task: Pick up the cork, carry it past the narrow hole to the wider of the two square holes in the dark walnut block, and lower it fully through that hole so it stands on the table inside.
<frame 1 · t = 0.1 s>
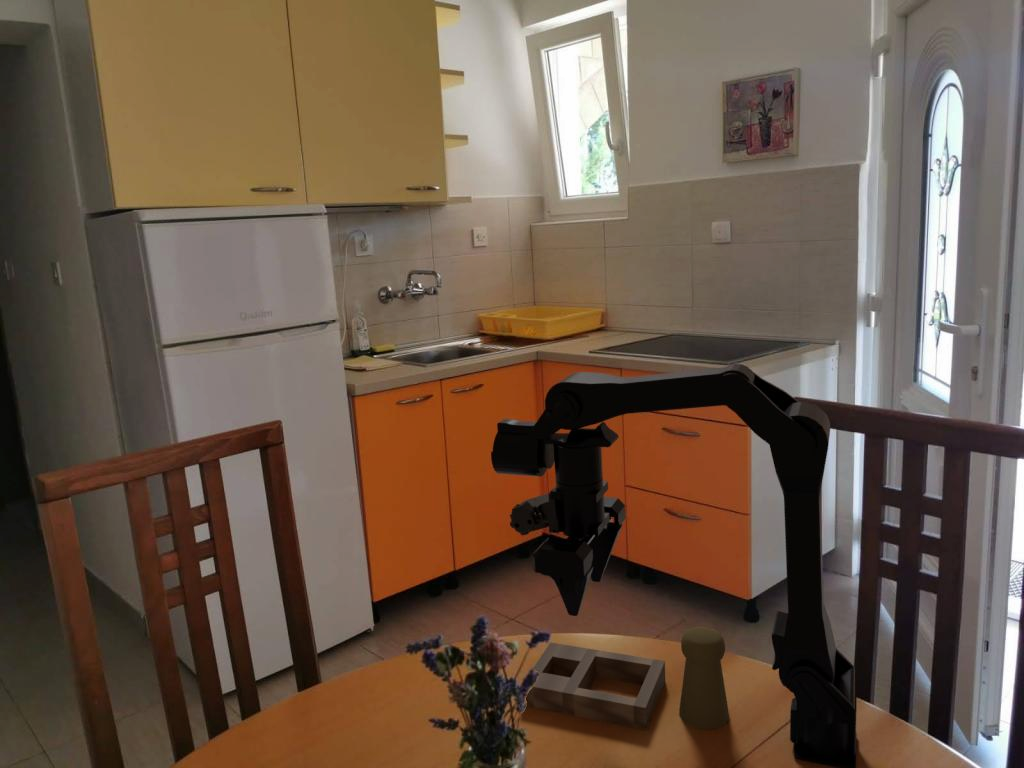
hand: (585, 597, 98), 15 cm above the table, tool pointing down, fingers open, 9 cm apart
hole block: (595, 693, 103), on the table
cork: (704, 715, 97), on the table
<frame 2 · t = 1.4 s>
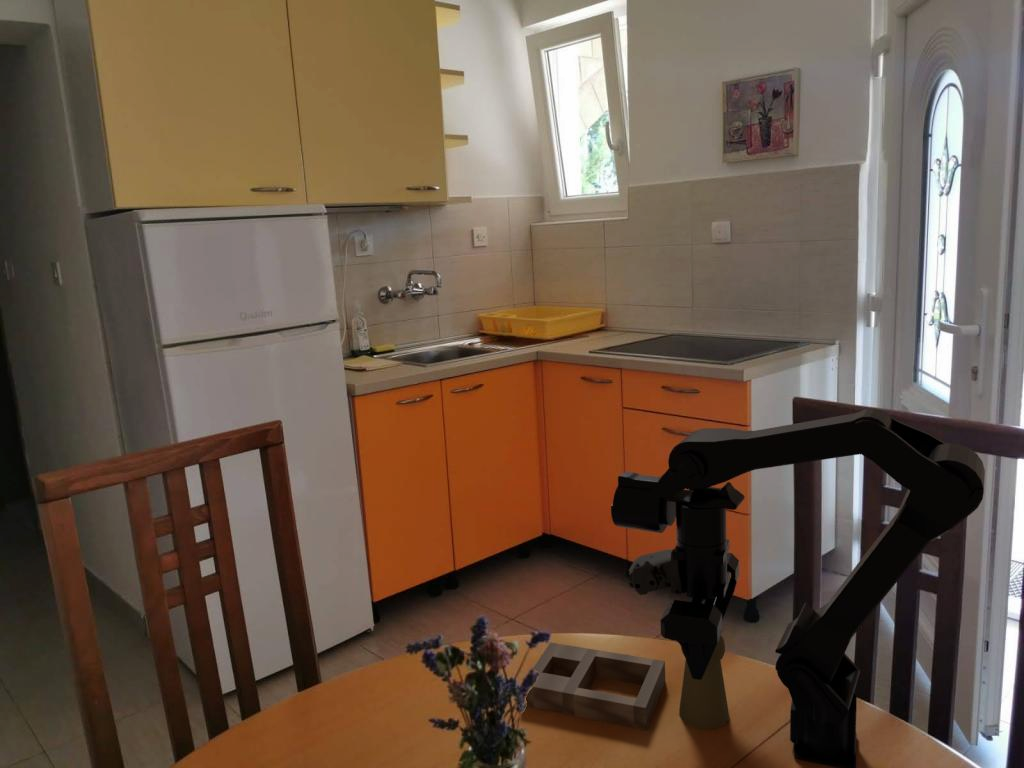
hand: (704, 657, 96), 8 cm above the table, tool pointing down, fingers open, 9 cm apart
nothing on the table moved.
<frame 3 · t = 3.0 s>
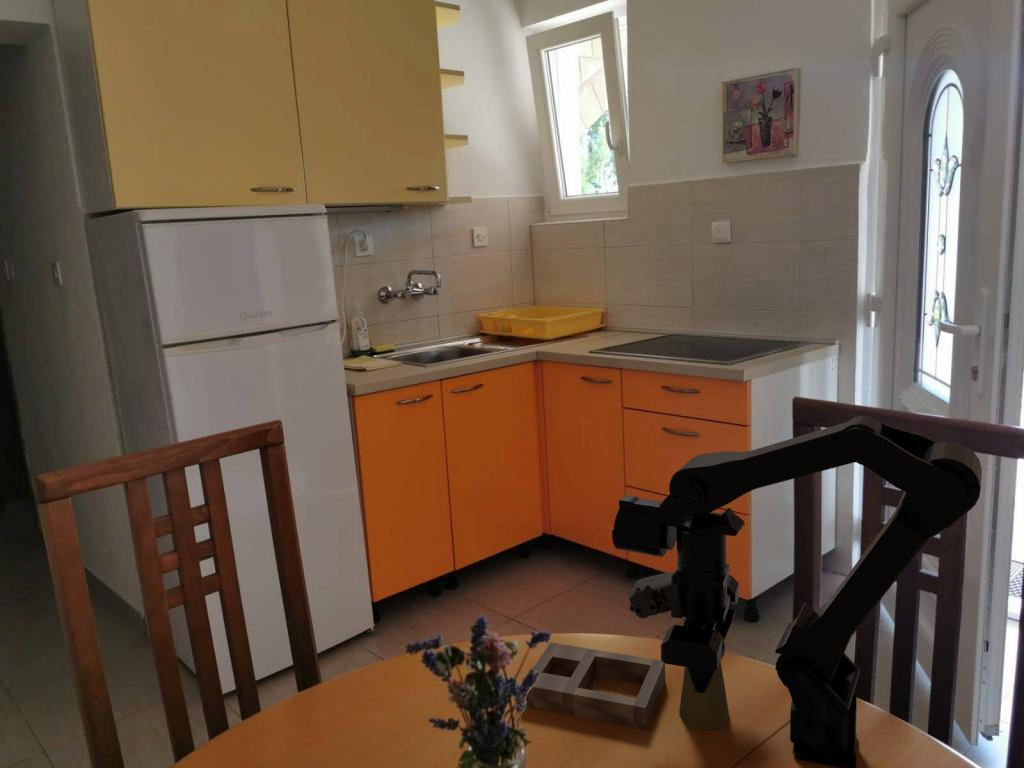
hand: (703, 680, 96), 5 cm above the table, tool pointing down, fingers closed on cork, 4 cm apart
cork: (704, 715, 97), on the table, touching gripper
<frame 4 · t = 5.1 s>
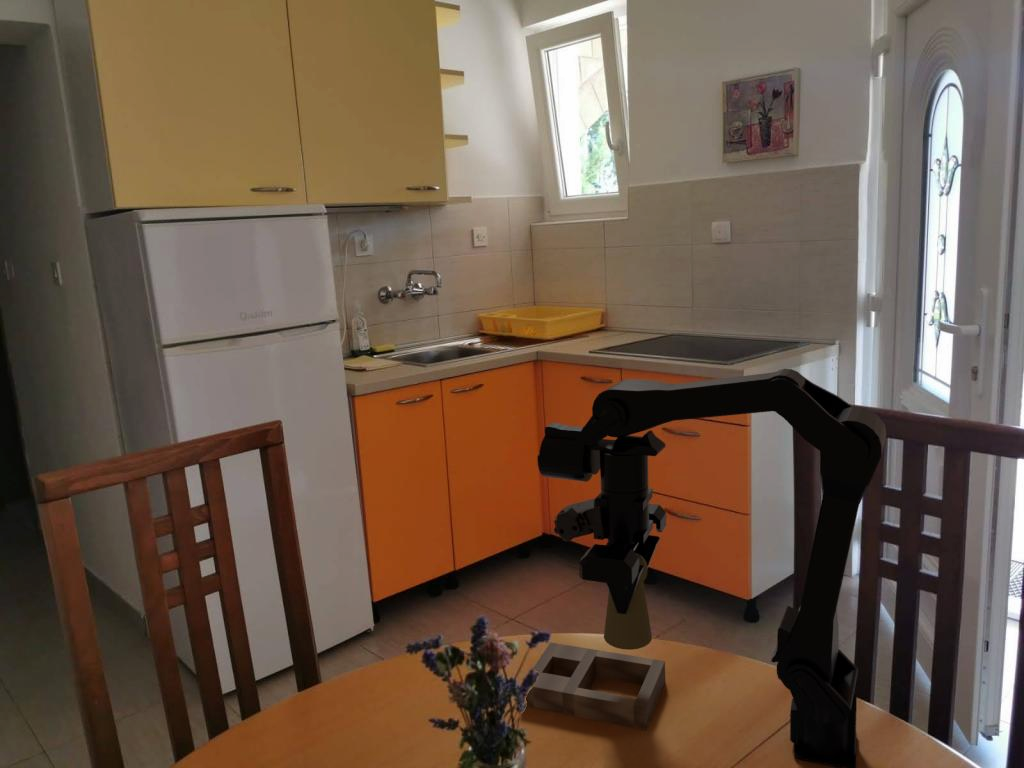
hand: (627, 603, 98), 13 cm above the table, tool pointing down, fingers closed on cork, 4 cm apart
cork: (627, 638, 99), point 9 cm above the table, touching gripper
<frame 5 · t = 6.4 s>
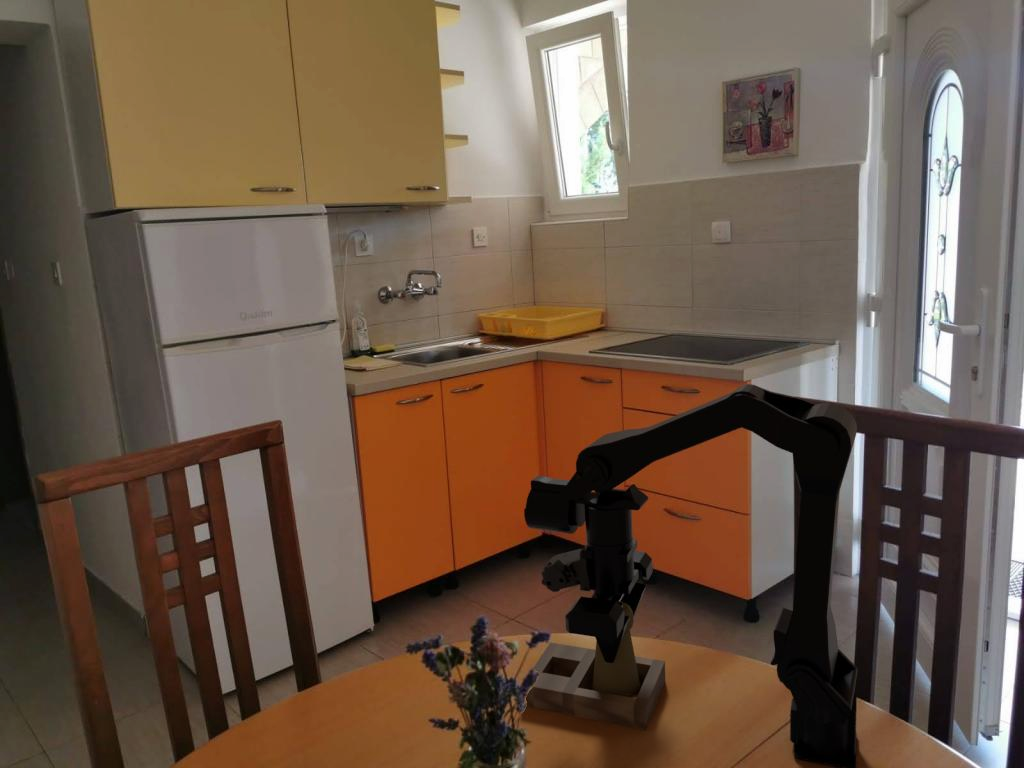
hand: (614, 651, 100), 6 cm above the table, tool pointing down, fingers closed on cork, 4 cm apart
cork: (616, 685, 101), point 2 cm above the table, touching gripper
when the fingers open (6 cm above the table, at t = 7.2 s): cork drops 1 cm, resting in hole block.
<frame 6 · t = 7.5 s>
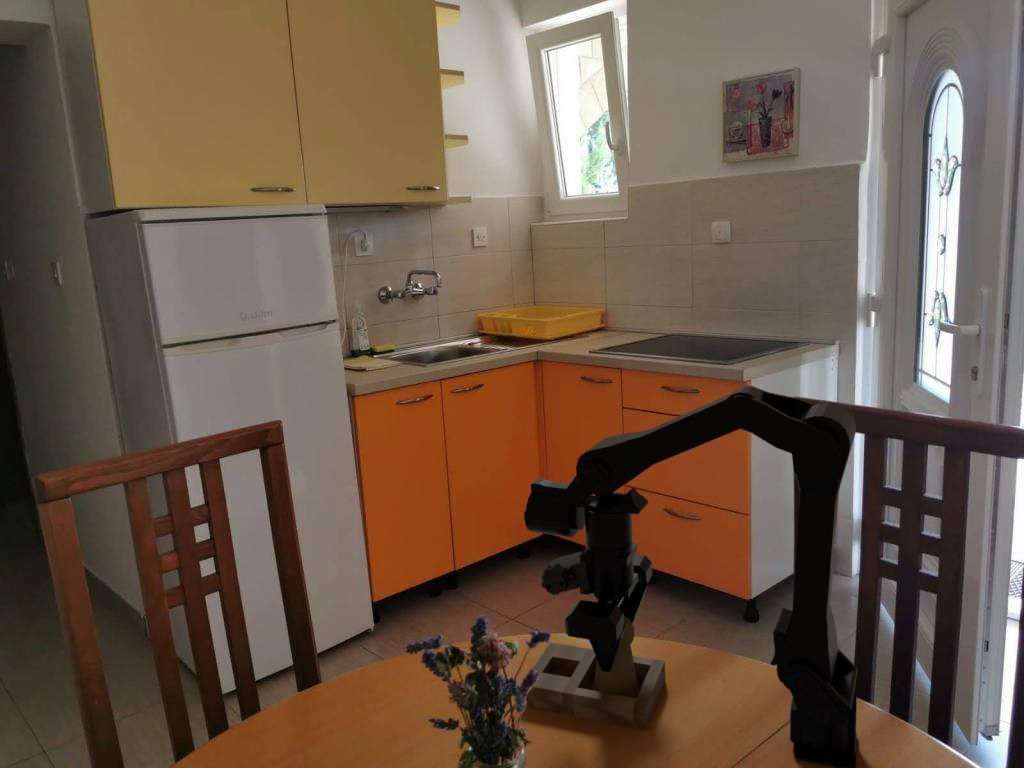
hand: (614, 655, 101), 6 cm above the table, tool pointing down, fingers open, 7 cm apart
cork: (616, 698, 102), resting in hole block
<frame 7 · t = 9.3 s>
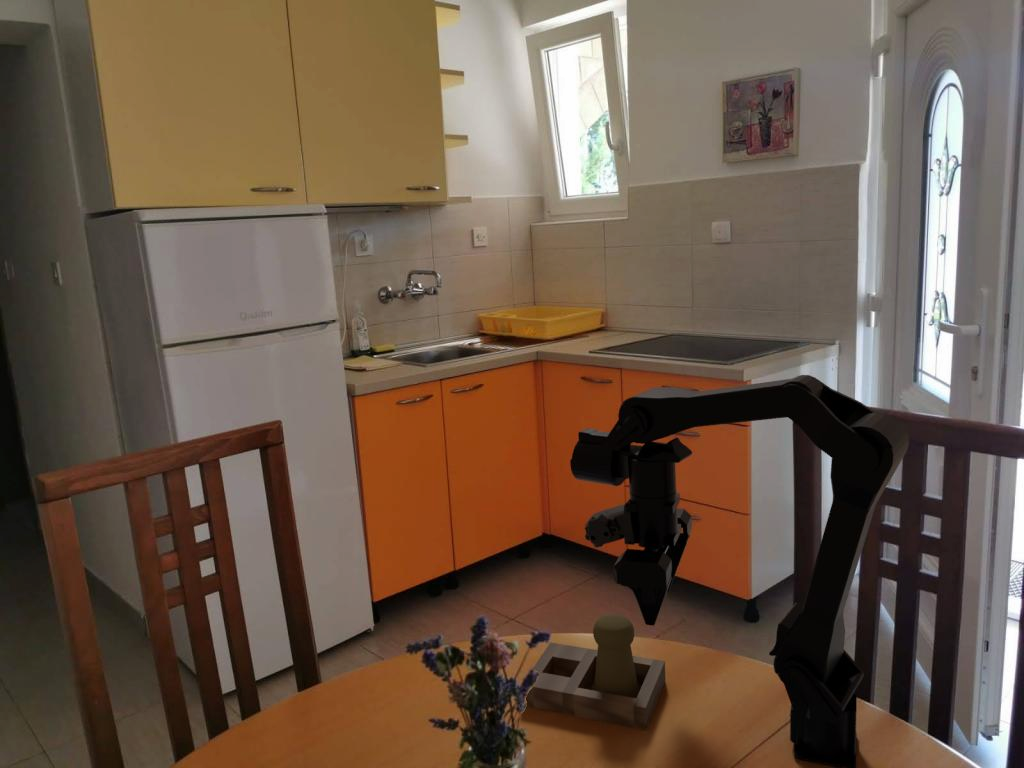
hand: (657, 607, 100), 12 cm above the table, tool pointing down, fingers open, 9 cm apart
nothing on the table moved.
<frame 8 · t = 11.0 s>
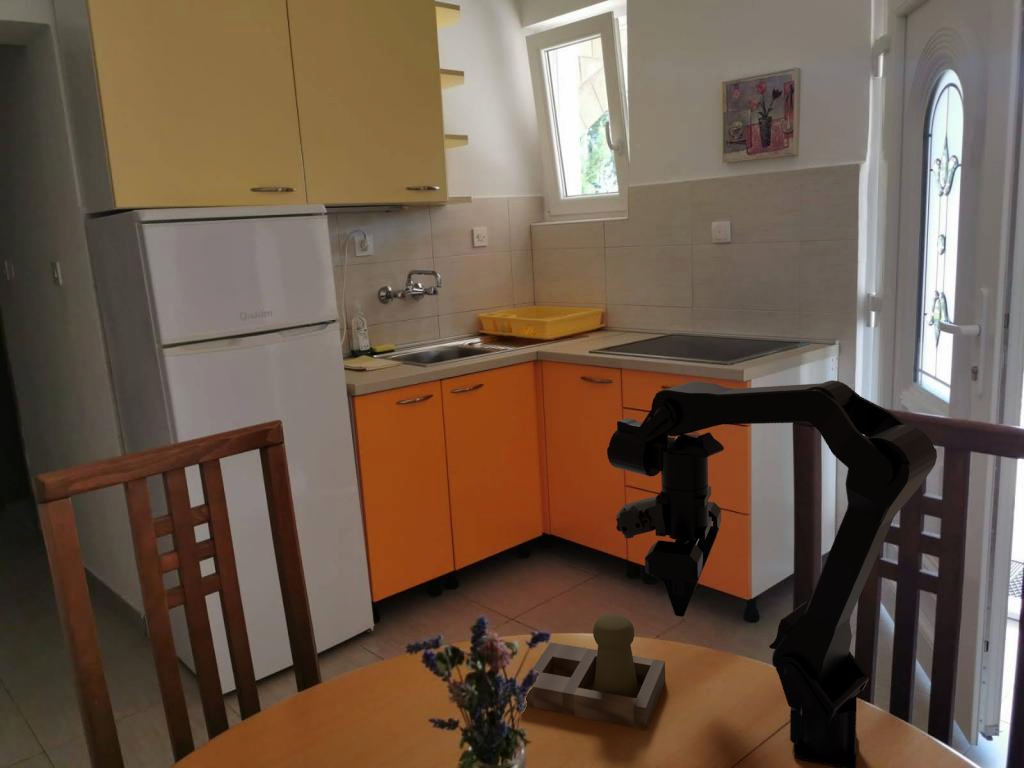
hand: (686, 598, 101), 12 cm above the table, tool pointing down, fingers open, 9 cm apart
nothing on the table moved.
at the end: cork 0.0 cm from the target spot on the hole block, point 0.0 cm above the hole block's base; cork tilted 0°; the gripper is holding nothing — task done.
